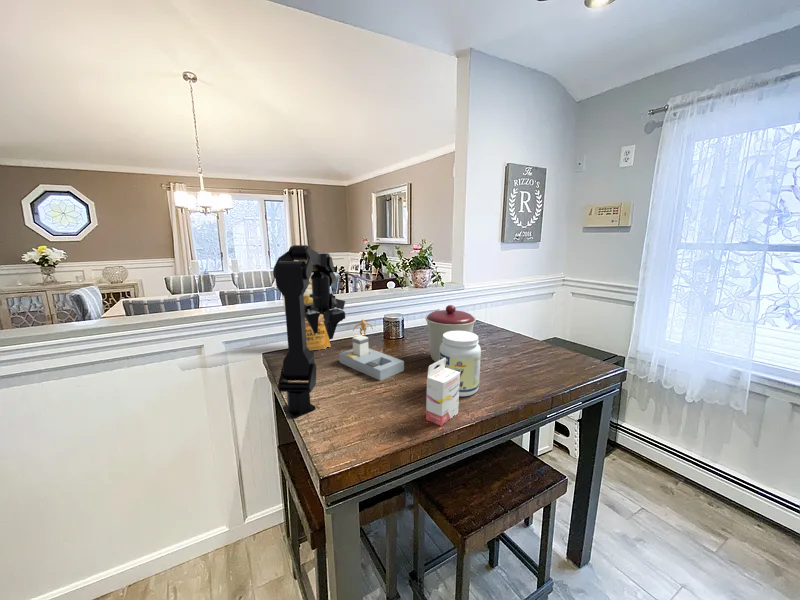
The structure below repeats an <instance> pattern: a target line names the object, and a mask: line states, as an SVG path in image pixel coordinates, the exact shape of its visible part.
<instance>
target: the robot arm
mask: <svg viewBox="0 0 800 600" xmlns="http://www.w3.org/2000/svg"><path fill="white" fill-rule="evenodd" d="M330 255H331V254H330V253H329V252H318V251H316V250H314V249H312V247H311V246H310V245H306V244H305V245H303V244H298V245H296V244H295V245H290V246H289V248H288V251H287V252H285V253H283V254H282V255H281V256H279V257H278V258H277V260H276V262H275V264H274V267H273V270H272V271H273V272H272V273H273V274H272V275H273V278H274V279H275V285H276V288H277V289H278V291H279V292H280V294H281V296H282V295H283V296H284V300H285V310H284V314H285V313H286V315H285V321H286V323H285V324H286V333H287V334H286V335H287V349H288V352H287V353H286V355H285V356H284V359H283V361H282V367H281V369H280V374H279V378H278V379H279V380H278V383H277V388H278V389H277V390H278V392H279V393H281V392H283V393H285V392H286V397H287V401H286V402H287V405H284V406H283V407H282V410H283V411H284V412H285V413H287V414H288V415H290V416H291V417H292V418H294V419H296V418H298V417H300V416H303V415H305V414H307V413H310V412H312V411H314V410H316V409H317V407H316V405H314V404H312V403H311V393H312V391H313V390H314V389H315V386H317V385H316V384H317V364H316V362H315V351H312V350H309V349H308V348H307V341H306V326H305V318H306V320H307V321H308V323H309V325H310V326H311V328H312V330H313V332H314V333H318V317H319V316H320V314H322V315H323V318H324V320H325V321H323V322H324V325H325V328H326V331H327V334H328V337H329V339H330V340H333V338H334V335H335V332H336V329H337V326H338V324H339V323H340V322H342V321H343V320H345V319H346V312H345V311H344V308H345V304H346V300H343V299H338V298H336V295H334V294H333V293H331V287H332V286H333V285H334V284H336V281H337V277H336V274H335V273H336V272H335V271H336V270H335V266H334V262H333V258H332V256H330ZM310 279H311V281H312V294H310V297H311V298H313V303H308V304H304V296H303V294H304V292H305V291H306V289H307V287H308V285H309V281H310ZM330 309H331V310H330Z"/></svg>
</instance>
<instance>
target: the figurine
mask: <svg viewBox="0 0 800 600" xmlns="http://www.w3.org/2000/svg"><path fill="white" fill-rule="evenodd" d="M367 325H368V326H370V327H371V329H372V330H373V327H374V326H372V324H371V323H370V322H367V321H365V319H364V318H362V319H361V322H359V323H358V324H356V325H355V326H354V327H353V330H352V331H353V332H354V330H355V329H356V328H358V327H361V328H359V336H360V335H362V336H365V337H366V334H367V333H366V331H367V327H366V326H367ZM362 332H363V333H362Z"/></svg>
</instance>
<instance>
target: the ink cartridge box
mask: <svg viewBox="0 0 800 600" xmlns="http://www.w3.org/2000/svg"><path fill="white" fill-rule="evenodd" d="M439 364H440V366H439ZM445 364H446V358H443V359H441V360H439V361H437V362H435V361H434V362H433V363H432V364H430V365H429V366H428V367H427V377H426V399H425V400H426V403H425V404H426V408H425V410H426V411H425V412H426V414H425V420H426V421H428V422H430V421H431V422H430V423H432V422H433V423H432V424H434V423H435V425H437V424H438V425H437V426H439V425H440V427H442V426H444V425H445V424H446V423H447V422H449V421H450V420H451V419H452V418H453V416H454V415H455V416H456V415H457V414H459V400H460V396H459V385H460V372H458V371H455V370H451V369H448V368H445ZM437 366H438V367H437ZM455 416H454V417H455ZM449 419H450V420H449ZM448 420H449V421H448ZM444 423H445V424H444ZM443 424H444V425H443Z"/></svg>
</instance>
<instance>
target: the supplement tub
mask: <svg viewBox="0 0 800 600" xmlns="http://www.w3.org/2000/svg"><path fill="white" fill-rule="evenodd" d="M442 341H443V342H442V343H441V345H440V348H439V360H441V359H443V358H446V364H445V368H448V369H451V370H455V371H458V372H460V385H459V397H470V396H472V395H474V394H476V393H477V392H478V390H479V388H480V374H481V357H482V356H481V355H482V349H481V346H480V344H479V335H477V334H476V333H474V332H472V333H471V332H467V331H449V332H446V333H444V334H443V339H442ZM439 366H440V364H439V365H438V367H439Z"/></svg>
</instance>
